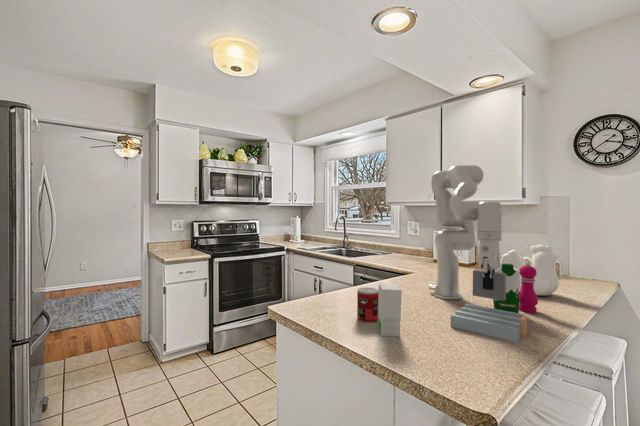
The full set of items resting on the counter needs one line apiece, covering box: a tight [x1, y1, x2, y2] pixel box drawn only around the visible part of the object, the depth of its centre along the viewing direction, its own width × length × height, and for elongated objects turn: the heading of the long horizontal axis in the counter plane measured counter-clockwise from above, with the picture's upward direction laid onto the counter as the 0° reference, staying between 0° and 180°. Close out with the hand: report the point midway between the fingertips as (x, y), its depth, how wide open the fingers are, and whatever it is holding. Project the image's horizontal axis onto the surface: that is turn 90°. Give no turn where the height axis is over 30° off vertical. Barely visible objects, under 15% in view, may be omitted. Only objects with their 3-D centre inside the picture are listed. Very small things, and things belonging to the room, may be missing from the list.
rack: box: [450, 303, 528, 343], centre depth 110 cm, size 21×18×6 cm
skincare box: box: [377, 282, 403, 338], centre depth 105 cm, size 8×7×16 cm
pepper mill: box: [519, 261, 539, 314], centre depth 128 cm, size 7×7×20 cm
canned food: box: [356, 287, 379, 323], centre depth 117 cm, size 8×8×11 cm
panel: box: [472, 269, 506, 301], centre depth 110 cm, size 10×2×9 cm, turn 50°
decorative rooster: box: [500, 244, 560, 296], centre depth 156 cm, size 25×16×25 cm, turn 35°
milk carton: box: [492, 264, 520, 314], centre depth 124 cm, size 9×9×20 cm
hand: (488, 288), depth 110 cm, fingers closed on panel, 2 cm apart
